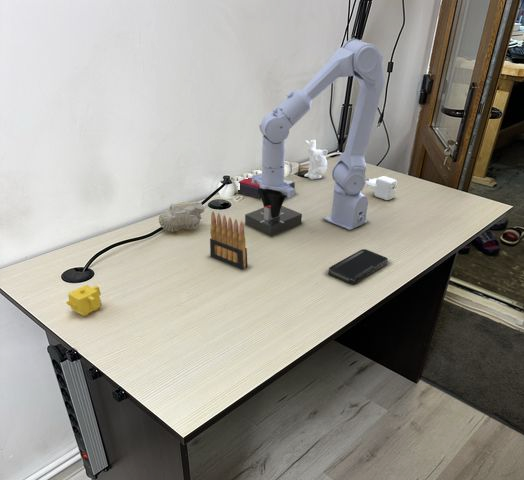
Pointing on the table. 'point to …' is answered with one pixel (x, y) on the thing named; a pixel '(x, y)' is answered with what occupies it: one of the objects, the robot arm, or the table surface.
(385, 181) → the power adapter
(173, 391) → the table surface
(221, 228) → the ammunition clip
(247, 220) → the panel
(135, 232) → the table surface
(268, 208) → the knob
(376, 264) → the phone
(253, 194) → the red and grey box
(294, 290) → the table surface
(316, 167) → the white animal figurine
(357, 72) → the robot arm
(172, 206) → the fossil replica
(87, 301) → the yellow knobbed block
